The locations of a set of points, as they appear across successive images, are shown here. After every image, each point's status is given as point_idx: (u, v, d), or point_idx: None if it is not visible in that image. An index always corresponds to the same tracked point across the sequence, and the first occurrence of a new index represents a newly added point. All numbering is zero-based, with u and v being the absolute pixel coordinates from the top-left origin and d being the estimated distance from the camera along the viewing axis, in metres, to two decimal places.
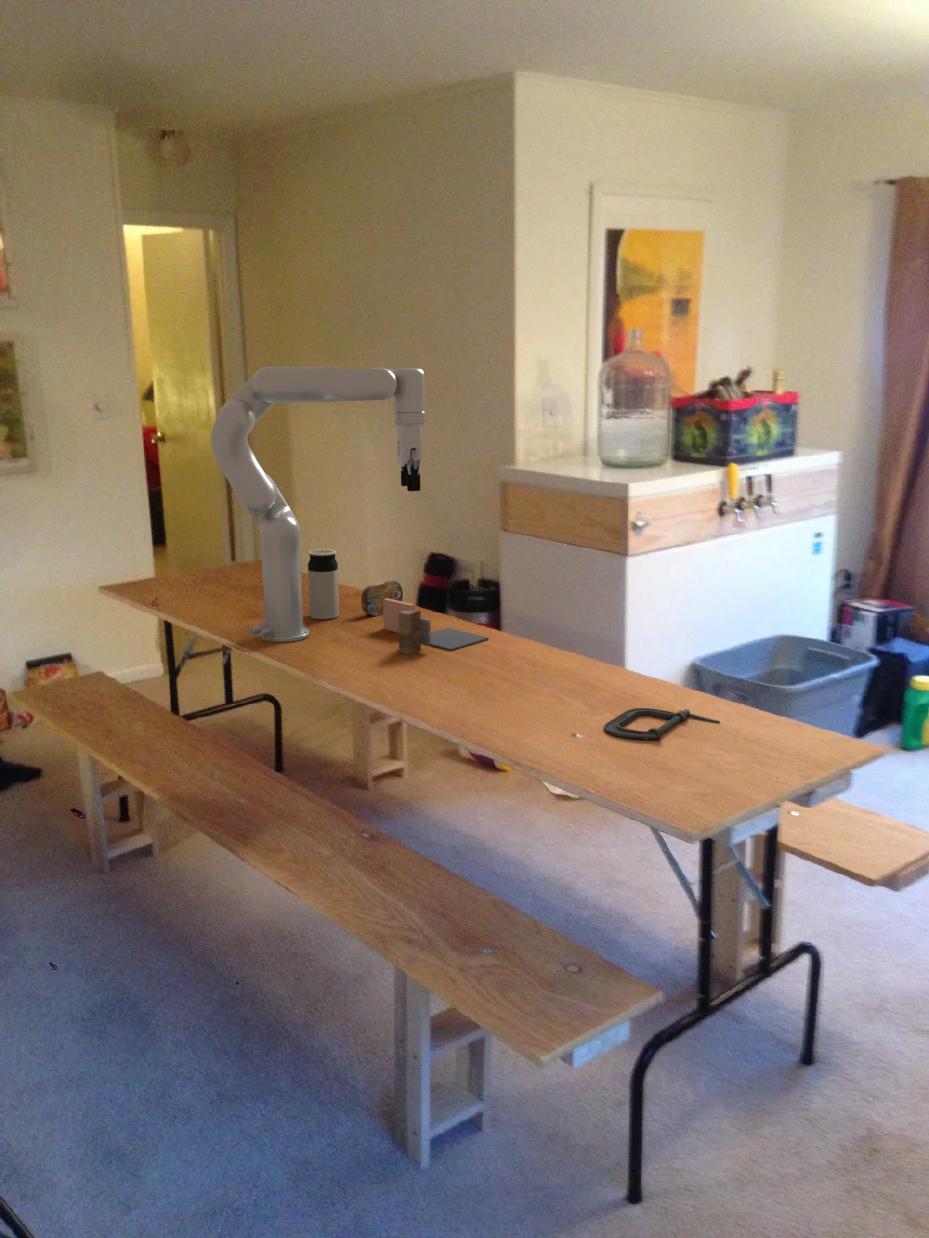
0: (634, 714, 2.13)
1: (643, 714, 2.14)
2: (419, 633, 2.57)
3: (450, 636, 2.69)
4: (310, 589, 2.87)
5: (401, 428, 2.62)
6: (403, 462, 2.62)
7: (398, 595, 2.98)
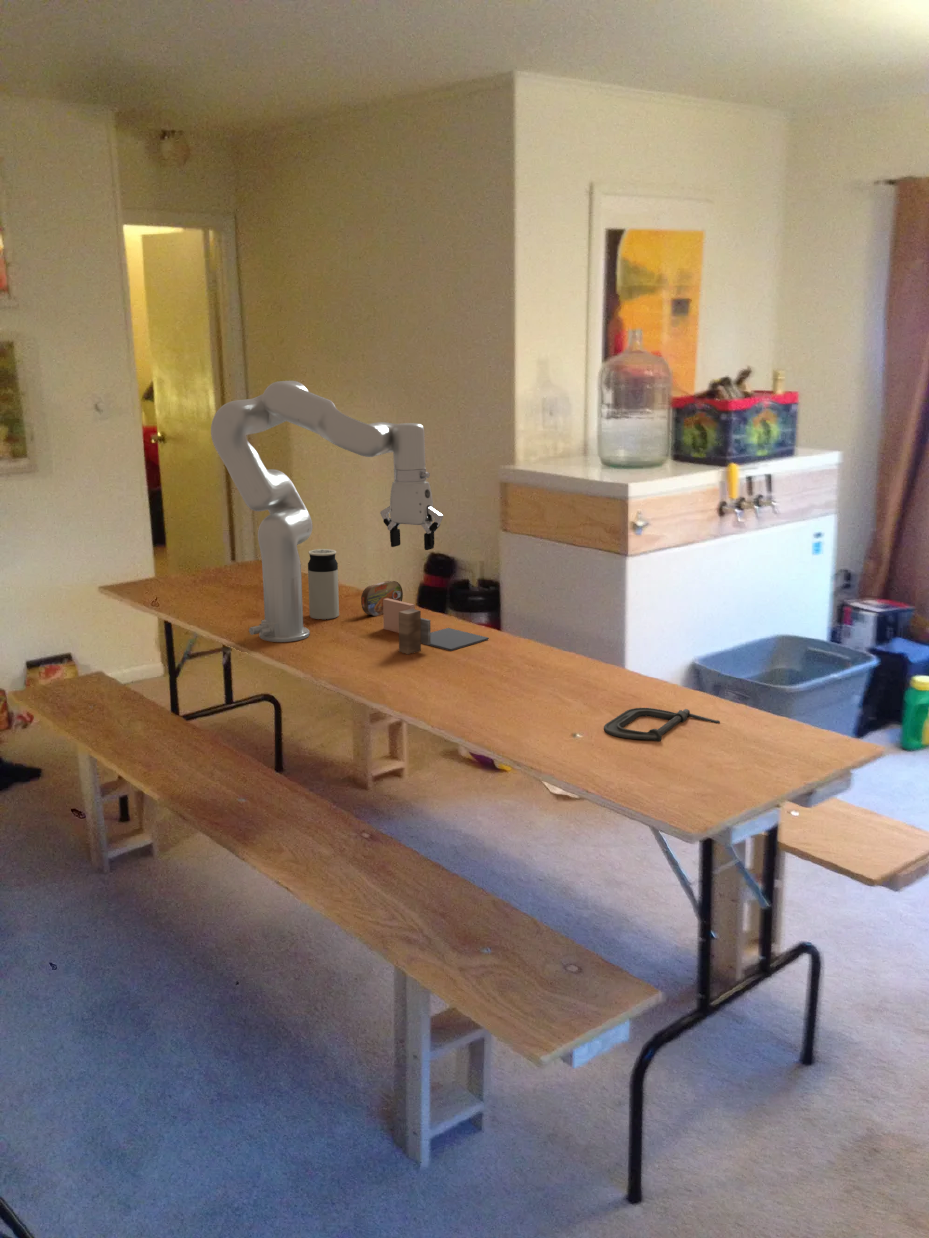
0: (634, 714, 2.12)
1: (643, 714, 2.14)
2: (419, 633, 2.57)
3: (450, 636, 2.69)
4: (310, 589, 2.87)
5: None
6: None
7: (398, 595, 2.98)
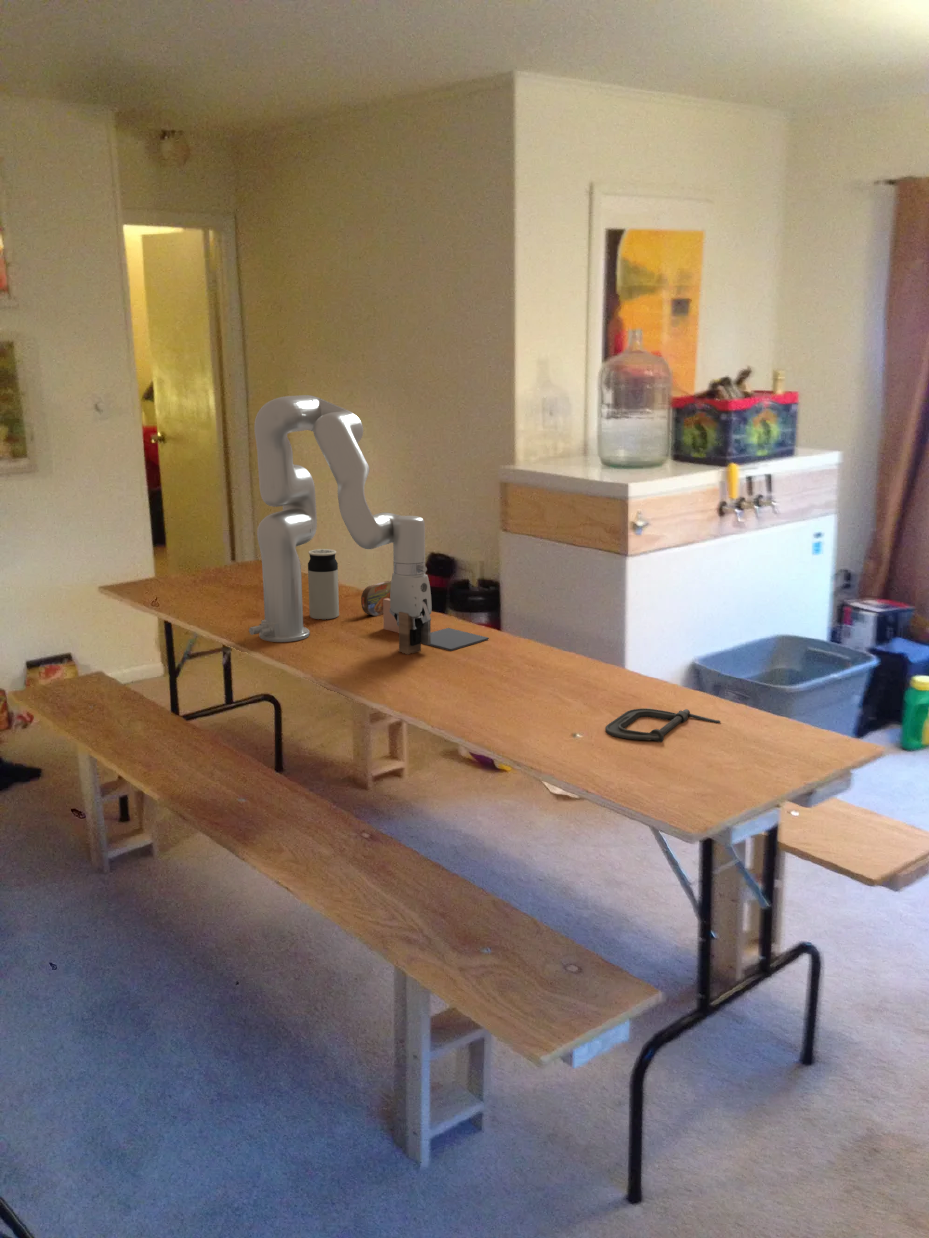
0: (635, 715, 2.12)
1: (643, 715, 2.14)
2: None
3: (450, 636, 2.69)
4: (310, 589, 2.87)
5: None
6: None
7: None
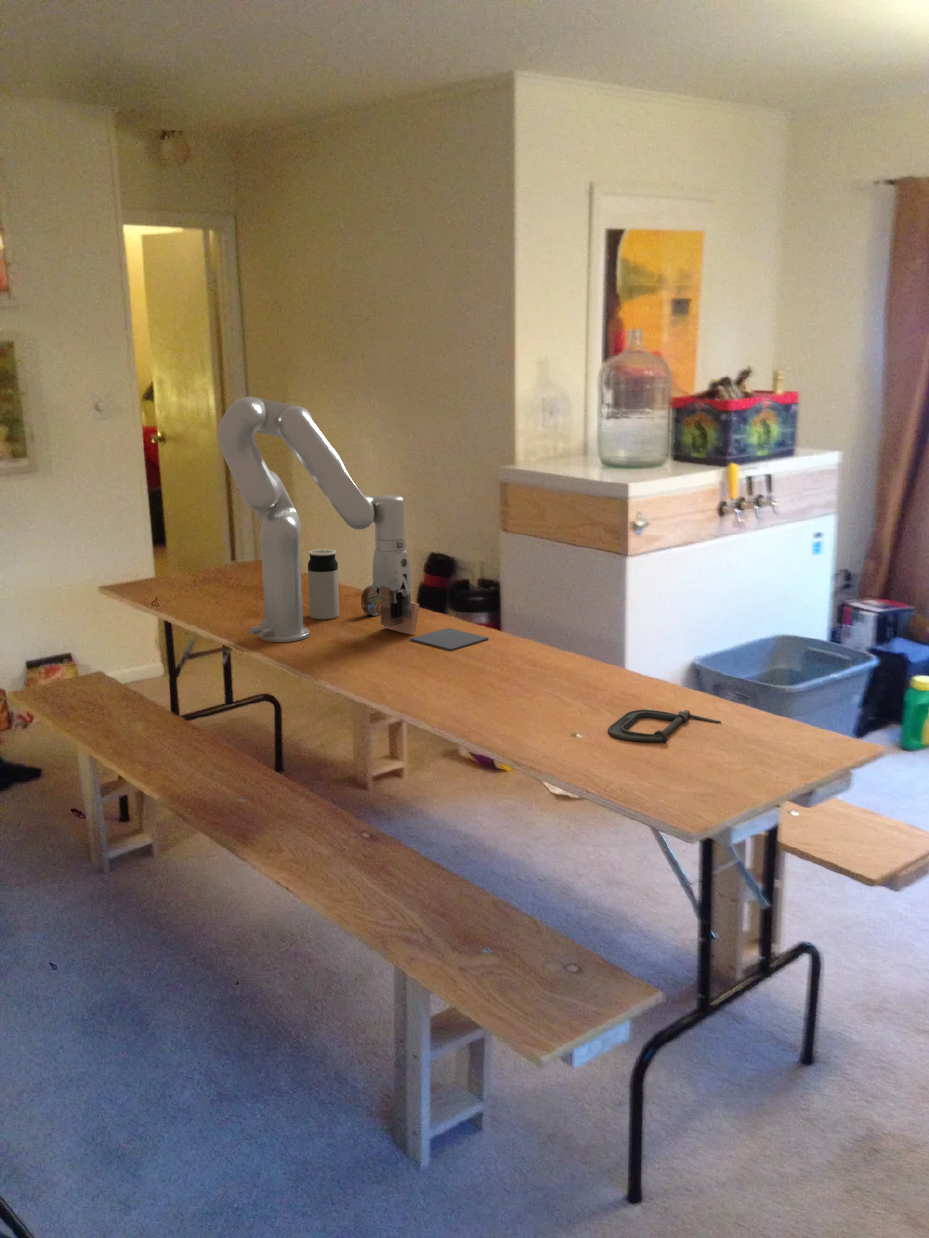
0: (636, 716, 2.11)
1: (644, 716, 2.13)
2: None
3: (450, 636, 2.69)
4: (310, 589, 2.87)
5: None
6: None
7: None
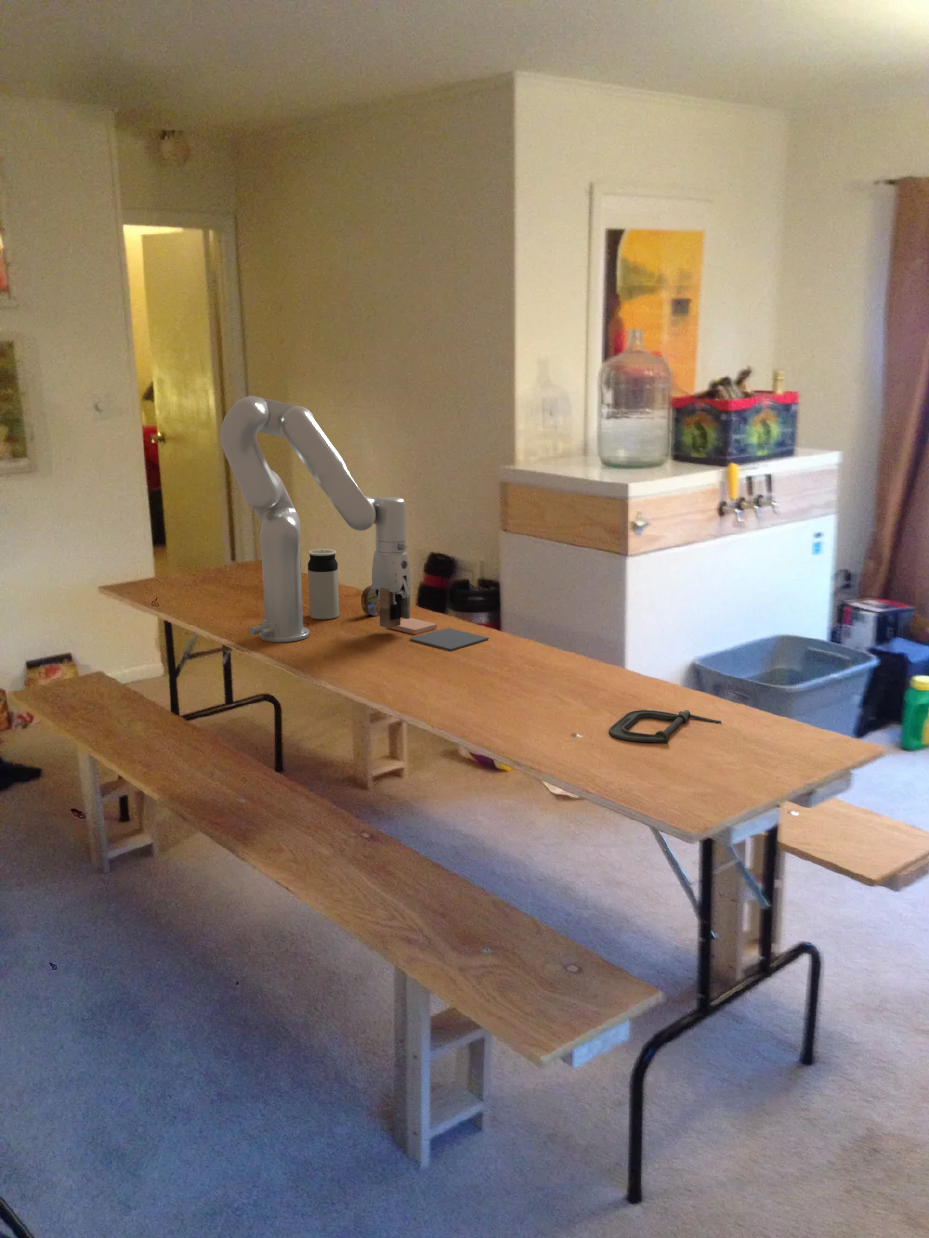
0: (636, 717, 2.11)
1: (644, 716, 2.13)
2: None
3: (450, 636, 2.69)
4: (310, 589, 2.87)
5: None
6: None
7: None
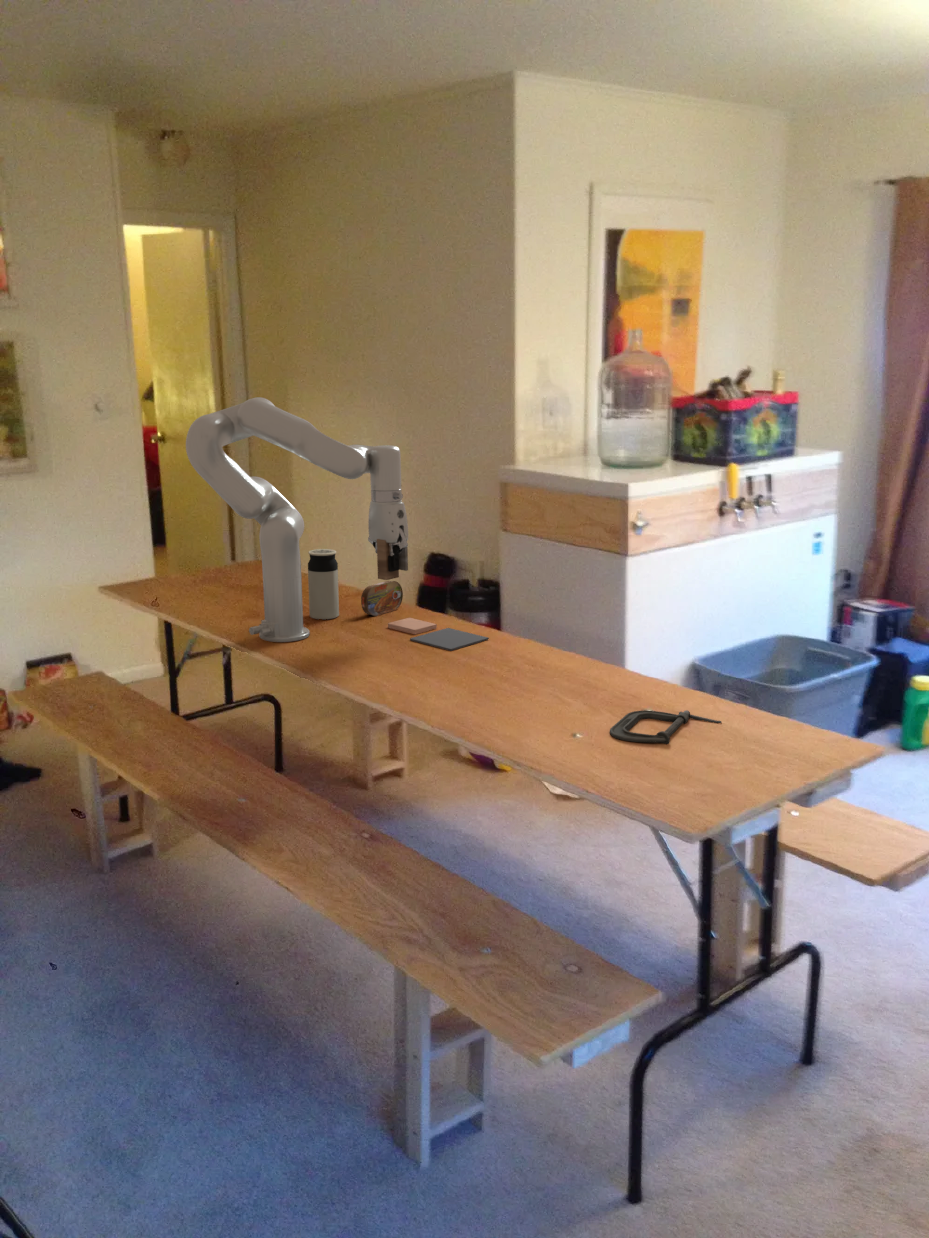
0: (636, 717, 2.11)
1: (644, 717, 2.13)
2: None
3: (450, 636, 2.69)
4: (310, 589, 2.87)
5: None
6: None
7: (398, 594, 2.98)
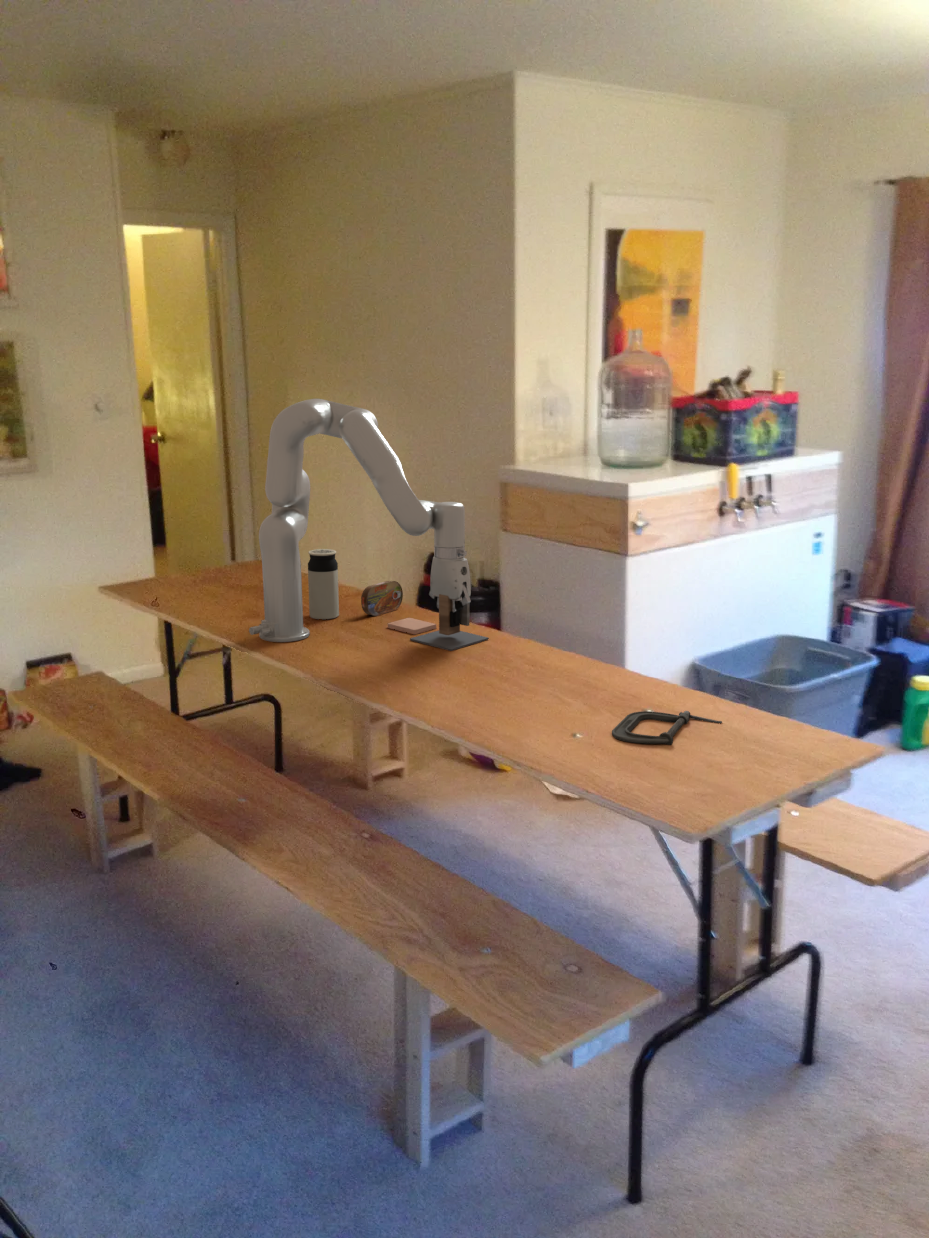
0: (637, 718, 2.10)
1: (645, 718, 2.12)
2: None
3: (450, 636, 2.69)
4: (310, 589, 2.87)
5: None
6: None
7: (398, 594, 2.98)
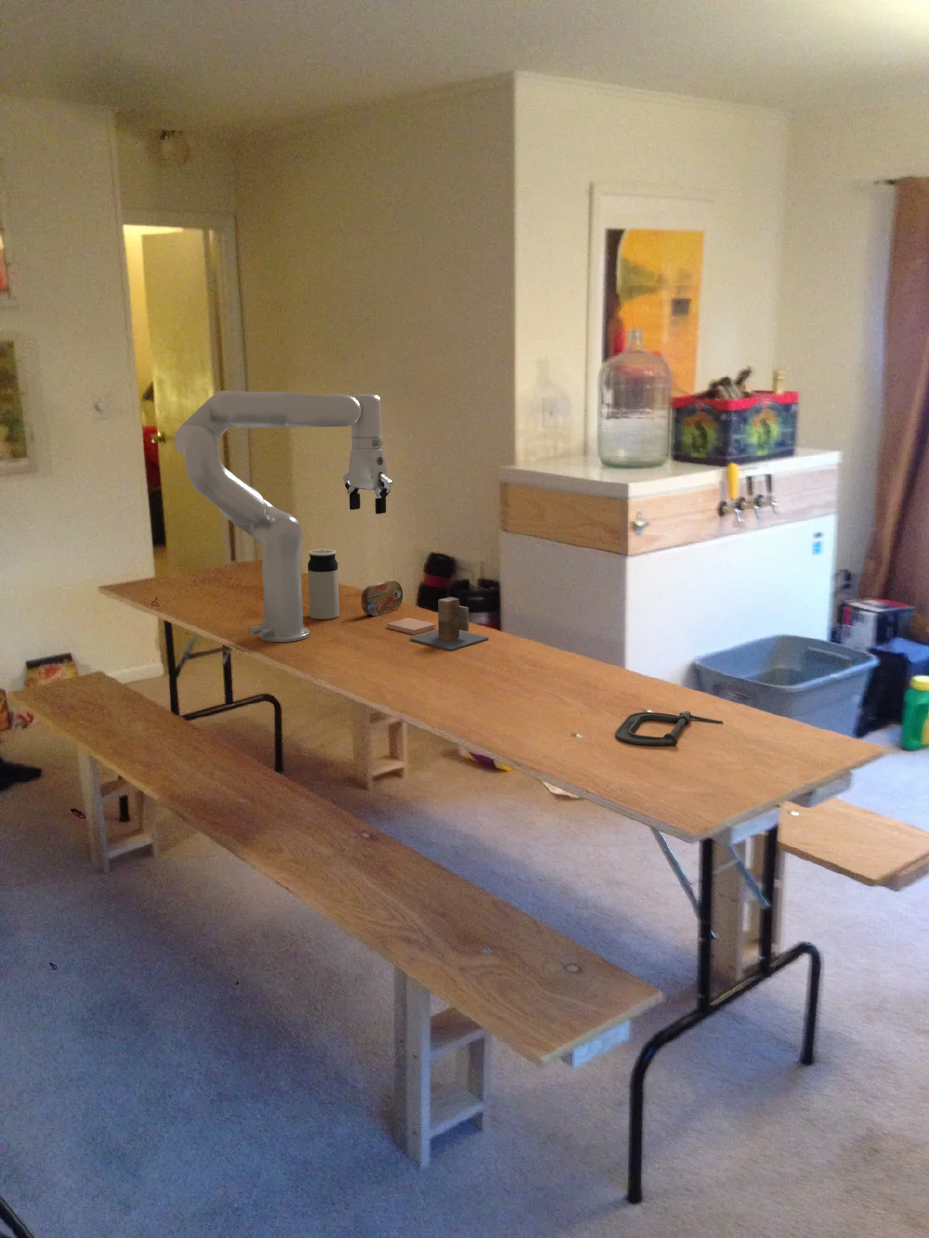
0: (639, 719, 2.10)
1: (646, 718, 2.11)
2: (458, 620, 2.67)
3: None
4: (310, 589, 2.87)
5: None
6: None
7: (398, 595, 2.98)
